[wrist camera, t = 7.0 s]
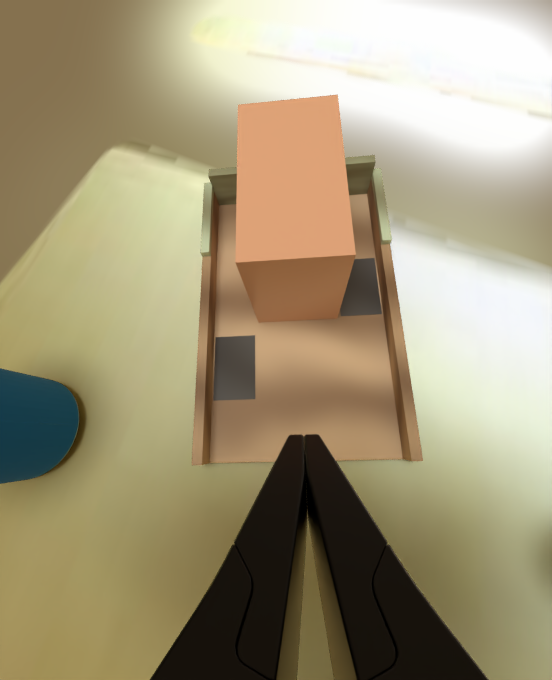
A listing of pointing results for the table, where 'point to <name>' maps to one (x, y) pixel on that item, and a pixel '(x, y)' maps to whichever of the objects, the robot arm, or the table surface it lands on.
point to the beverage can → (34, 425)
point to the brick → (293, 209)
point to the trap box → (302, 348)
